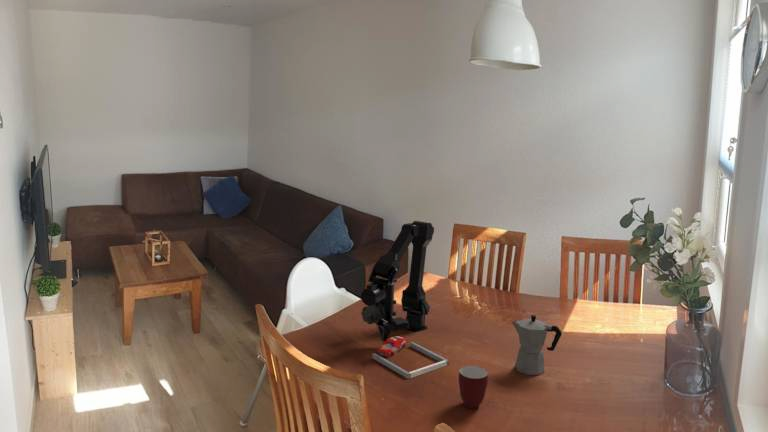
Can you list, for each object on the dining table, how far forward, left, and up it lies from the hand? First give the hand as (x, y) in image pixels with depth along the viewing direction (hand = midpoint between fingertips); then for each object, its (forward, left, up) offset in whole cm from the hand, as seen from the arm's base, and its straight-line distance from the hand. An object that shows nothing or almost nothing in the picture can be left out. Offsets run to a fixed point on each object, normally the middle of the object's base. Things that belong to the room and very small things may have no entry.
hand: (384, 341), depth 215 cm
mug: (+3, +45, -2) cm, 45 cm away
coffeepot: (-28, +41, -2) cm, 50 cm away
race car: (-1, +3, -3) cm, 4 cm away
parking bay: (0, +14, -2) cm, 14 cm away
